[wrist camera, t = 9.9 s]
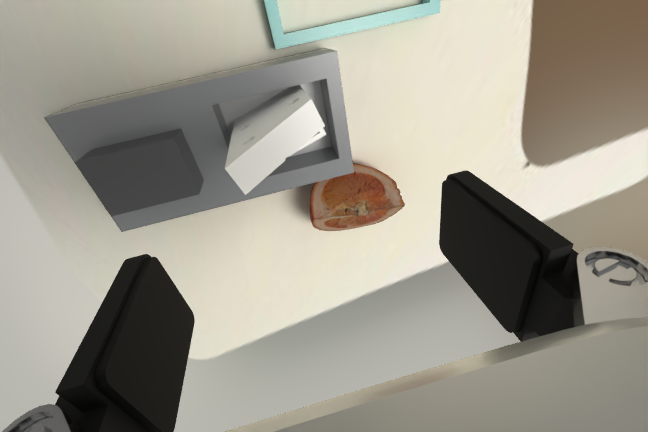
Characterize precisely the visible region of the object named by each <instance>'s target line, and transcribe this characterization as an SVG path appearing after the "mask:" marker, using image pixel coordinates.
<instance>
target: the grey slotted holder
mask: <svg viewBox="0 0 648 432" xmlns="http://www.w3.org/2000/svg"><path fill="white" fill-rule="evenodd" d="M296 85H300V86H301V87H302V88H303V90H304V91H305V92H306V93H307V94H308V96H309V97H310V98H311V99H312V101H313V103H314V105H315V107H316V109H317V111H318V113H319V115H320V117H321V119H322V121H323V123H324V125H325V127H323V129H324V131H325V132H326V134H327V135H325V136H323V137H321V138H320V139H318V140H316V141H314V142H313V143H311V144H309V145H308V146H306V147H304V148H302V149H301V150H299V151H297V152H295V153H294V154H292V155H291V156H289V157H287V158H285V159H286V160H285V161H284V162H283V163H282V164H281V165H280V166H278V167H277V168H276V169H275V170H274V171H273V172H272V173H270V174H269V175H268V176H267V177H266V178H265V179H263V180H262V181H261V182H260V183H259V184H258V185H257V186H255V187H254V188H253V189H252V190H251V191H250V192H249V193H247V194H246V195H245V194H244V193H243V191H242V190H241V189H240V188H239V186H238V185H237V184H236V182H235V181H234V180H233V179H232V177H231V176H230V175H229V173H228V172H227V171H226V170H225V165H226V160H227V155H228V150H229V145H230V140H231V135H232V131H233V126H234V121H235V120H236V119H237V118H239V117H241V116H242V115H244V114H246V113H247V112H249V111H251V110H252V109H254V108H256V107H257V106H259V105H261V104H262V103H264V102H266V101H267V100H269V99H271V98H272V97H274V96H276V95H277V94H279V93H281V92H282V91H284V90H286V89H287V88H289V87H292V86H296ZM44 118H45V120H46V121H47V122H48V124H49V125H50V127H51V128H52V130H53V131H54V133H55V134H56V136H57V137H58V139H59V140H60V142H61V143H62V145H63V146H64V148H65V149H66V151H67V152H68V153H69V155H70V156H71V158H72V159H73V161H74V162H75V164H76V165H77V167H78V168H79V170H80V171H81V173H82V174H83V176H84V177H85V179H86V180H87V182H88V183H89V184H90V186H91V187H92V189H93V190H94V192H95V193H96V195H97V196H98V198H99V199H100V201H101V202H102V204H103V205H104V207H105V208H106V210H107V211H108V213H109V214H110V215H111V217H112V218H113V220H114V221H115V223H116V224H117V226H118V227H119V229H120V230H121V232H123V231H127V230H131V229H135V228H139V227H143V226H147V225H150V224H154V223H158V222H162V221H166V220H170V219H174V218H178V217H182V216H186V215H190V214H194V213H197V212H201V211H205V210H209V209H213V208H217V207H221V206H225V205H229V204H233V203H237V202H240V201H244V200H248V199H252V198H256V197H260V196H264V195H268V194H272V193H276V192H280V191H284V190H287V189H291V188H295V187H299V186H303V185H307V184H311V183H315V182H319V181H323V180H327V179H330V178H334V177H338V176H342V175H346V174H350V173H354V169H353V162H352V155H351V148H350V140H349V133H348V126H347V119H346V112H345V105H344V97H343V90H342V83H341V76H340V69H339V62H338V54H337V51H335V50H331V49H327V48H323V49H319V50H314V51H310V52H305V53H301V54H297V55H292V56H288V57H283V58H279V59H274V60H270V61H265V62H261V63H257V64H252V65H248V66H243V67H239V68H234V69H230V70H226V71H221V72H217V73H212V74H208V75H203V76H199V77H194V78H190V79H186V80H181V81H177V82H172V83H168V84H163V85H159V86H155V87H150V88H146V89H141V90H137V91H132V92H128V93H123V94H119V95H115V96H110V97H106V98H101V99H97V100H92V101H88V102H84V103H79V104H75V105H73V106H70V107H68V108H65V109H63V110H61V111H58V112H56V113H54V114H51V115H49V116H46V117H44Z"/></svg>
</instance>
